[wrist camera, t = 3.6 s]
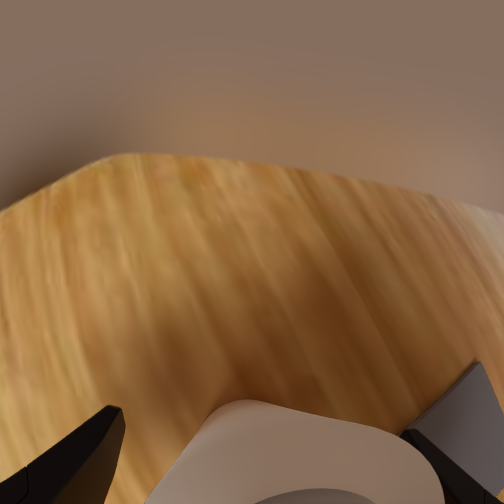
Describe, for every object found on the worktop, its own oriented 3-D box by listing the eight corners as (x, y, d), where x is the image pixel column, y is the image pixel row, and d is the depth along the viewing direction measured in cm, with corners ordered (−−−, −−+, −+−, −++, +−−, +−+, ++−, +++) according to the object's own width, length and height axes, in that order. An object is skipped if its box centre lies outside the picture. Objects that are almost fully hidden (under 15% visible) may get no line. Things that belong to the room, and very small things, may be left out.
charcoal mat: (515, 465, 12) (520, 466, 12) (413, 565, 10) (417, 568, 9) (474, 363, 16) (480, 361, 15) (353, 466, 13) (357, 468, 12)
